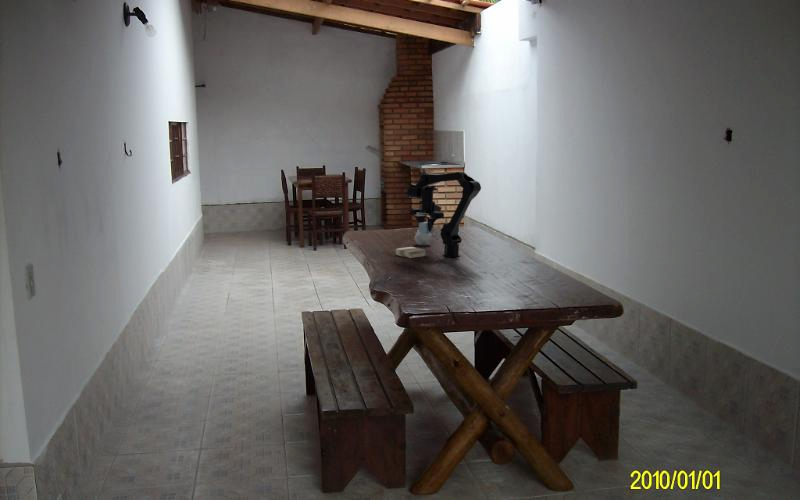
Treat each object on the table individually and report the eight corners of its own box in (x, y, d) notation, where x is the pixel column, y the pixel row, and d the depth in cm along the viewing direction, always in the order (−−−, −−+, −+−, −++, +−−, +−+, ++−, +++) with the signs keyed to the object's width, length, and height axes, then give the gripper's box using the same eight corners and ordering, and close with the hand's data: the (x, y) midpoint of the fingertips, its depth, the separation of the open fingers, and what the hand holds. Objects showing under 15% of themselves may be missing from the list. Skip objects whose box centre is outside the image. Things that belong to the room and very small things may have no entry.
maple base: (425, 255, 352) (425, 249, 351) (410, 258, 345) (410, 251, 344) (410, 252, 359) (411, 246, 358) (396, 254, 352) (396, 248, 351)
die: (427, 248, 378) (436, 232, 380) (413, 239, 377) (422, 223, 380) (424, 251, 386) (432, 235, 389) (409, 242, 385) (418, 226, 388)
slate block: (433, 233, 359) (433, 223, 359) (425, 233, 356) (426, 223, 355) (425, 231, 363) (426, 221, 362) (418, 232, 360) (419, 222, 359)
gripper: (452, 200, 355) (451, 231, 358) (425, 196, 369) (424, 227, 372) (436, 201, 348) (435, 233, 351) (409, 197, 361) (408, 228, 364)
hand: (426, 230), depth 359 cm, fingers closed on slate block, 5 cm apart
